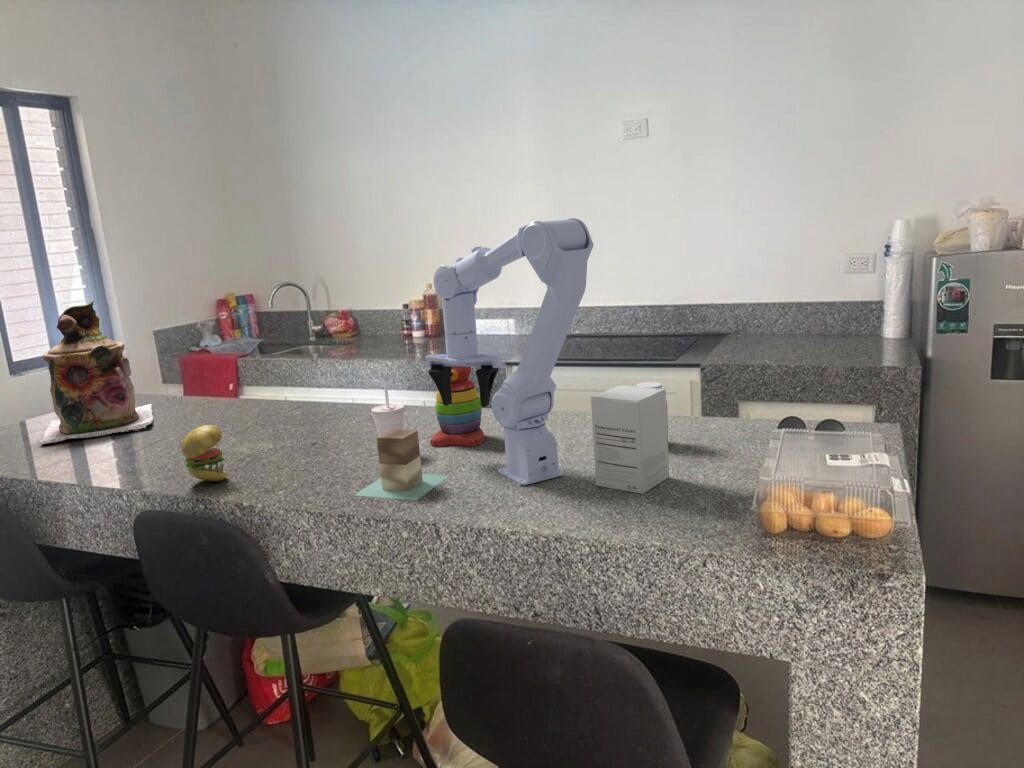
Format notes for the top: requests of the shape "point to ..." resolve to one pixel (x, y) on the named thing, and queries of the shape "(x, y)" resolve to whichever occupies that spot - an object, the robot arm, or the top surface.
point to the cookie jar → (90, 381)
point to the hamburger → (204, 453)
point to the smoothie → (388, 416)
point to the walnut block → (398, 447)
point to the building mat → (413, 494)
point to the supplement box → (630, 438)
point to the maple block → (401, 475)
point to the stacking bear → (459, 412)
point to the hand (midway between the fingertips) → (466, 405)
